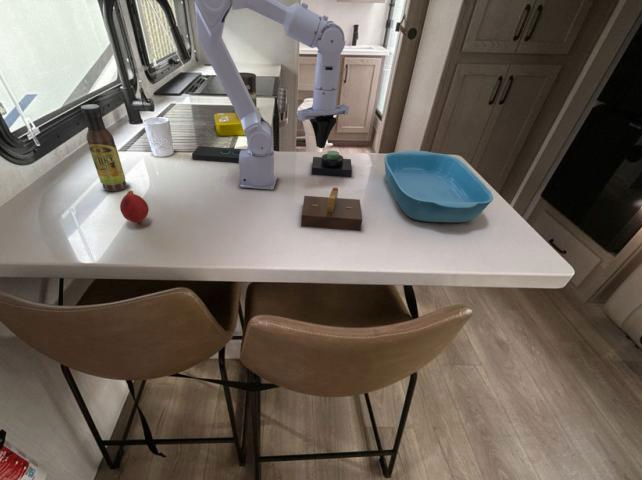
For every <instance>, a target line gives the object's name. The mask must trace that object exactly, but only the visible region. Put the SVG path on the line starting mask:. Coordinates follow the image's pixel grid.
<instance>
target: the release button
mask: <svg viewBox="0 0 642 480" xmlns="http://www.w3.org/2000/svg"><path fill="white" fill-rule="evenodd" d="M326 154H327V159H330V160H337V159H338V158H339V155H340V152H339V151H337V150H328V151H327V152H326Z"/></svg>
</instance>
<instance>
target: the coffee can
mask: <svg viewBox="0 0 642 480" xmlns="http://www.w3.org/2000/svg"><path fill="white" fill-rule="evenodd" d="M239 74H240V76H241V78H242V80H243V82H244V84H245V86H246V88H247V90H248V92H249V94H250V96H251V98H252V100H253V102H254V104H255V106H256V108H257V107H258V106H257V104H258V103H257V102H258V101H257V74H256V73H253V72H239ZM257 109H258V108H257ZM234 113H237V112H236V111H235V110H234Z"/></svg>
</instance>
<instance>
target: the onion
mask: <svg viewBox="0 0 642 480" xmlns="http://www.w3.org/2000/svg"><path fill="white" fill-rule="evenodd" d="M119 210H120V212H121V215H122V216H123V218H124V219H126V220H127V221H130V223H131V222H132V223H135V224H142V223H143V221H144V220H145V219H146V218H147V217H148V214H149V211H150V209H149V205H148V203H147V202H146V200H145V199H144V198H143V197H142V196H140V195H138V194H136V193H134V191H133V190H132V189H128V190H127V192H126V194H125V195H124V196H123V197H122V199H121V201H120V203H119Z"/></svg>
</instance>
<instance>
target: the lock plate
mask: <svg viewBox="0 0 642 480" xmlns="http://www.w3.org/2000/svg"><path fill="white" fill-rule="evenodd" d="M328 198H329V196H315V195H314V196H313V195H304V196H303V203H302V208H301V209H302V210H301V219H300V220H301V221H300V227H307V228H318V229H319V228H320V229H334V230H345V231H358V232H360V231H361V227H362V223H363V214H362V205H361V199H357V198H343V197H342V198H341V197H337V203H336V205H335V208H334V210H333V212H327V207H328Z"/></svg>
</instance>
